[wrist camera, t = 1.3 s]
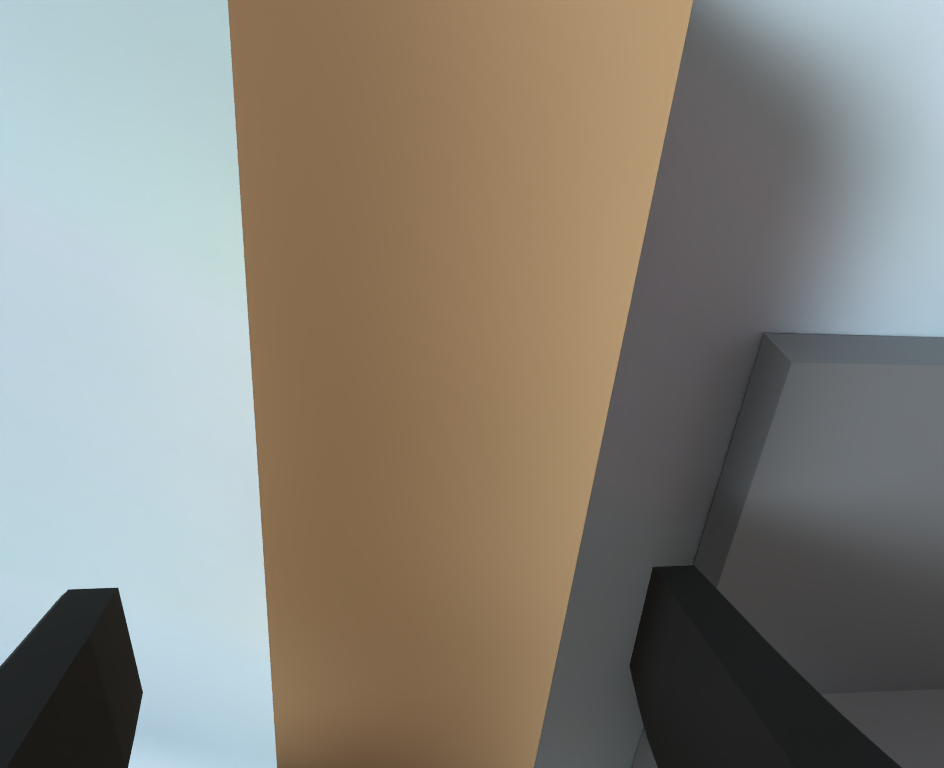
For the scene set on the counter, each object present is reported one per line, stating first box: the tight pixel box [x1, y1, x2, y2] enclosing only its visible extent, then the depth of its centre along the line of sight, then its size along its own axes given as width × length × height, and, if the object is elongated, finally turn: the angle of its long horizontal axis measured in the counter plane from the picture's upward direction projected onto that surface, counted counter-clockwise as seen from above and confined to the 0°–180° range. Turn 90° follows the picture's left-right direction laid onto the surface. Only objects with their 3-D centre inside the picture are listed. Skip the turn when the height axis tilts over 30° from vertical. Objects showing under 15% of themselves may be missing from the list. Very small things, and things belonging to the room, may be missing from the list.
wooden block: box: [228, 0, 693, 768], centre depth 11 cm, size 3×18×6 cm, turn 175°
